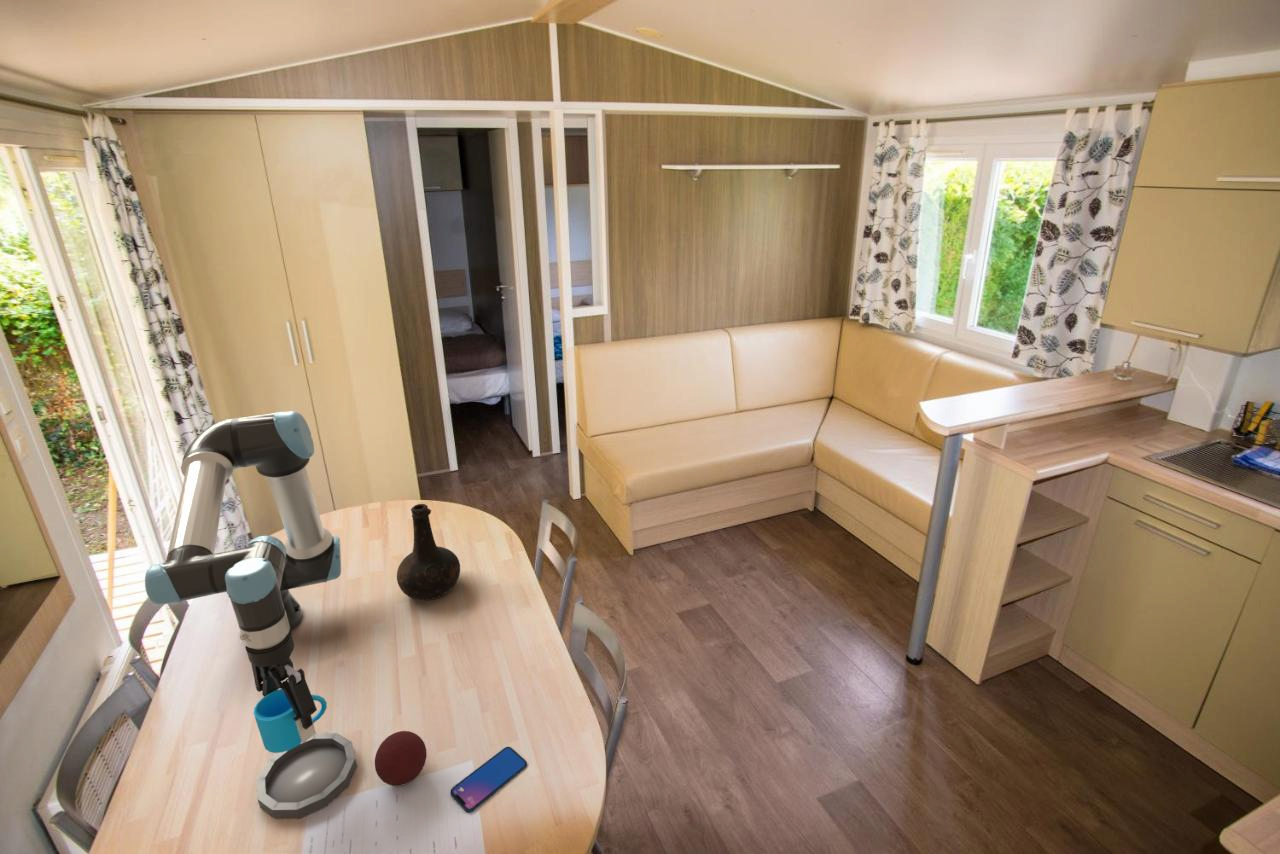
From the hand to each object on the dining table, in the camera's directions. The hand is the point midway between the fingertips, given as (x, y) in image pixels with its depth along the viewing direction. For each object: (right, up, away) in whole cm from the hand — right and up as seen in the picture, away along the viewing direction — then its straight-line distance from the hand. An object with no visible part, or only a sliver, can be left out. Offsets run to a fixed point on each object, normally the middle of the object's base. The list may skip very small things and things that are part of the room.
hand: (294, 728), depth 128 cm
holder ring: (0, -13, +5) cm, 14 cm away
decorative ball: (+20, -13, +6) cm, 24 cm away
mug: (+1, -1, 0) cm, 1 cm away
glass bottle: (+7, +11, +63) cm, 65 cm away
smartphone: (+38, -13, +5) cm, 40 cm away
